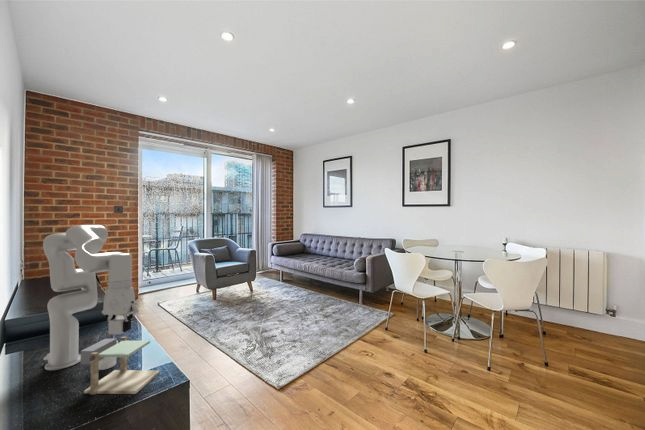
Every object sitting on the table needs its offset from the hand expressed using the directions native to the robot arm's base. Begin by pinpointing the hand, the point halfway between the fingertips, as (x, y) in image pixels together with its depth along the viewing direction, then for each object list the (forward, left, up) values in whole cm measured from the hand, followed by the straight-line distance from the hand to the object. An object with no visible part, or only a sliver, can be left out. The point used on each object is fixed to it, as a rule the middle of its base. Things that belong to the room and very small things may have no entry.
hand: (120, 330), depth 106 cm
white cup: (-18, +14, -22) cm, 31 cm away
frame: (+1, +2, -21) cm, 21 cm away
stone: (0, 0, -1) cm, 1 cm away
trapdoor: (-3, +2, -11) cm, 12 cm away
